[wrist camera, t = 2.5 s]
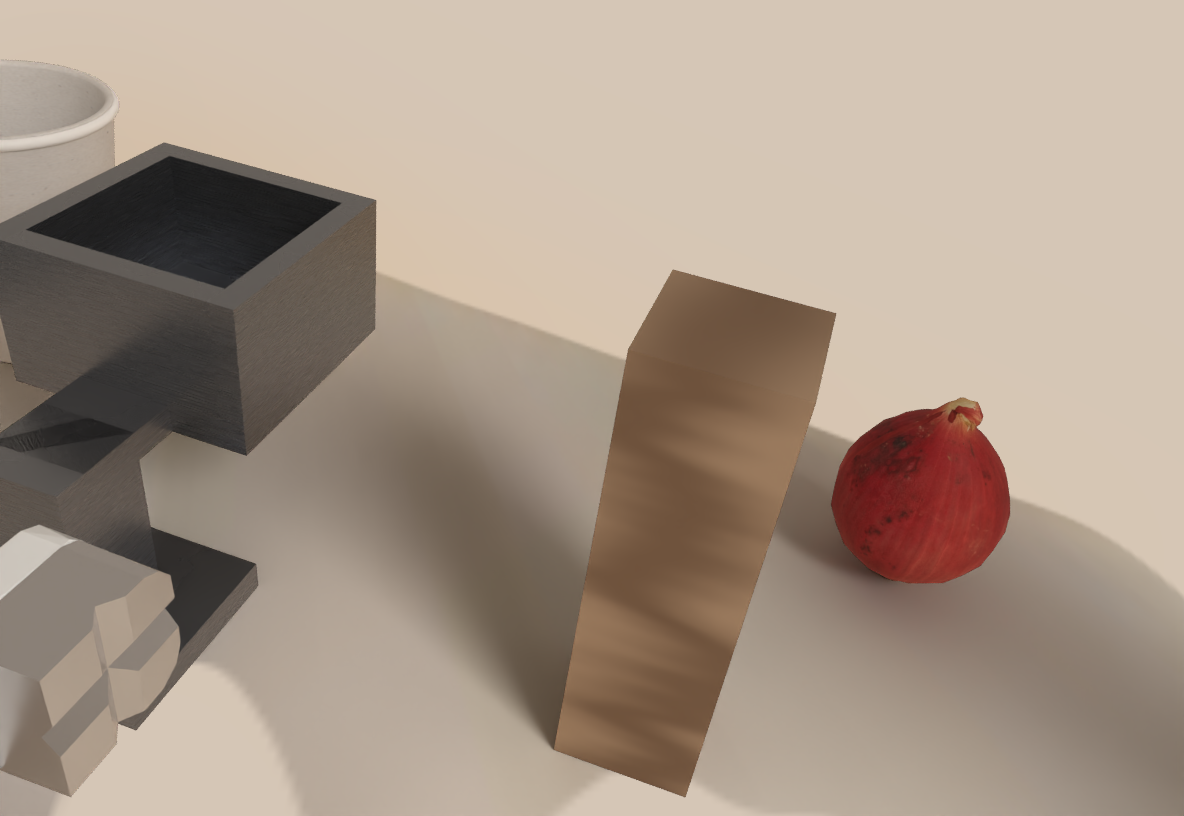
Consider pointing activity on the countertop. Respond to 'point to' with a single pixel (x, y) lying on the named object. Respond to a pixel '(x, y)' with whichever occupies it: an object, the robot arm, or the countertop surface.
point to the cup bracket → (170, 347)
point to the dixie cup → (50, 136)
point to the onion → (923, 495)
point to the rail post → (686, 519)
